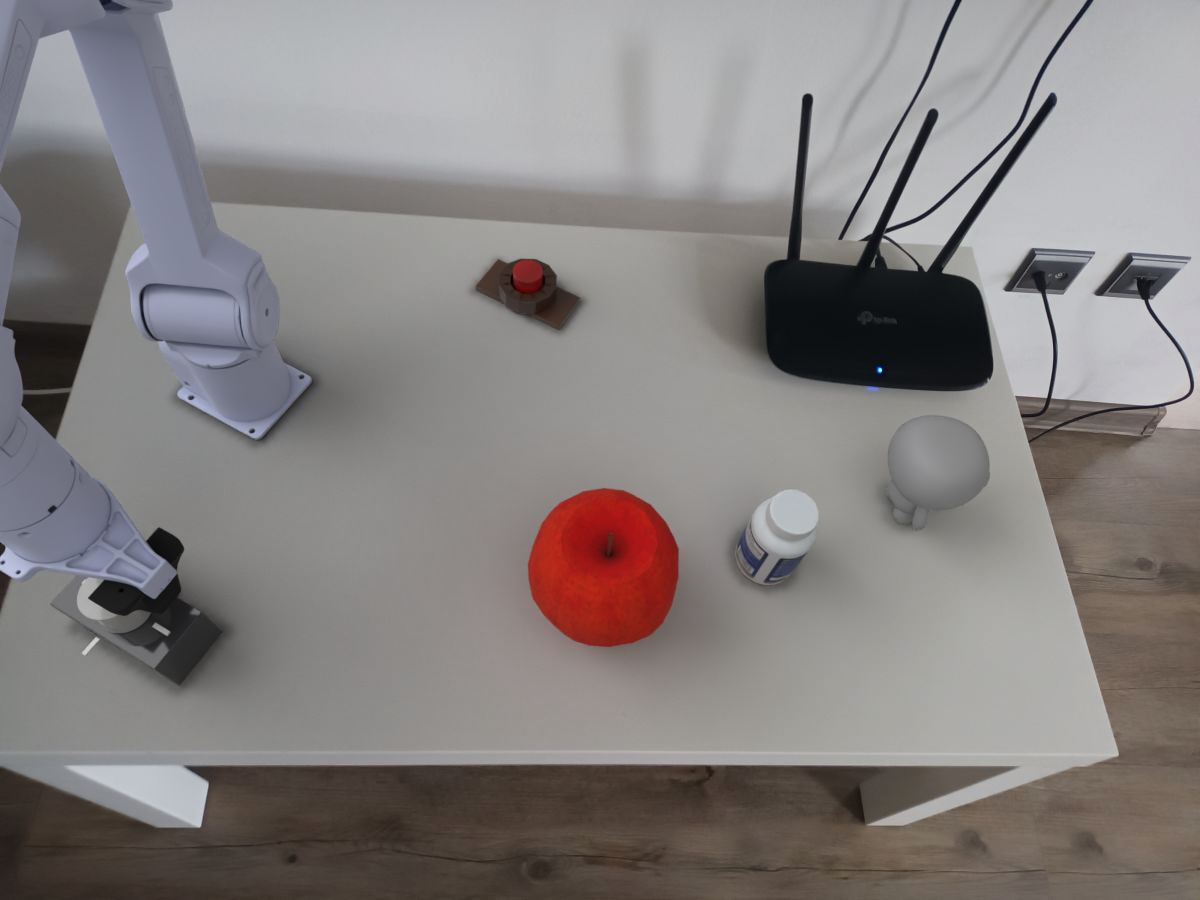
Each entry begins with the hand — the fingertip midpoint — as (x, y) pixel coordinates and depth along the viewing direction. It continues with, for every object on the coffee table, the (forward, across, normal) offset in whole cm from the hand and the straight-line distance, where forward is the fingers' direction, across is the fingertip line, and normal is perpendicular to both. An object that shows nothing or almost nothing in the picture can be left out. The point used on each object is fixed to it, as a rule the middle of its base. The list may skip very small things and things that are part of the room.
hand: (124, 574), depth 57 cm
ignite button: (+8, +7, +44) cm, 45 cm away
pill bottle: (+11, +40, +29) cm, 50 cm away
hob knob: (+5, -1, -1) cm, 6 cm away
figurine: (+11, +49, +40) cm, 64 cm away
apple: (+11, +29, +18) cm, 35 cm away
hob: (+10, -1, -1) cm, 11 cm away
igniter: (+10, +7, +44) cm, 46 cm away
